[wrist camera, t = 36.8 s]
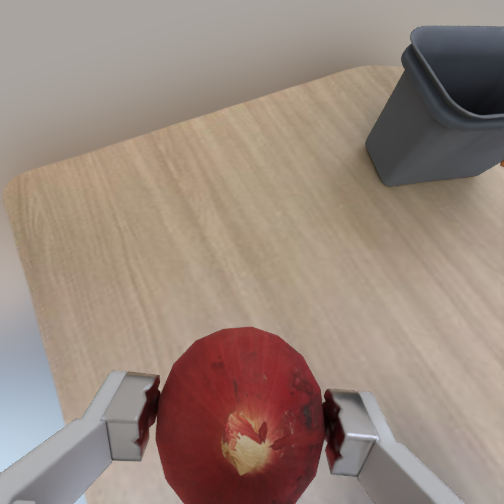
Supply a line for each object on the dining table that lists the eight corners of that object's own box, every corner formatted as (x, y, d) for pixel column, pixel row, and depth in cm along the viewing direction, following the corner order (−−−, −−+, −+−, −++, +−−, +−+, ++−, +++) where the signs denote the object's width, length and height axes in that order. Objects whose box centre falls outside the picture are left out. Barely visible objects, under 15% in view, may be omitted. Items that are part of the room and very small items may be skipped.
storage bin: (458, 122, 44) (560, 21, 30) (508, 200, 38) (658, 118, 25) (343, 133, 40) (400, 24, 27) (380, 219, 35) (474, 137, 22)
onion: (288, 331, 14) (361, 309, 7) (299, 460, 12) (422, 631, 5) (179, 335, 13) (128, 314, 6) (171, 471, 11) (77, 693, 4)
